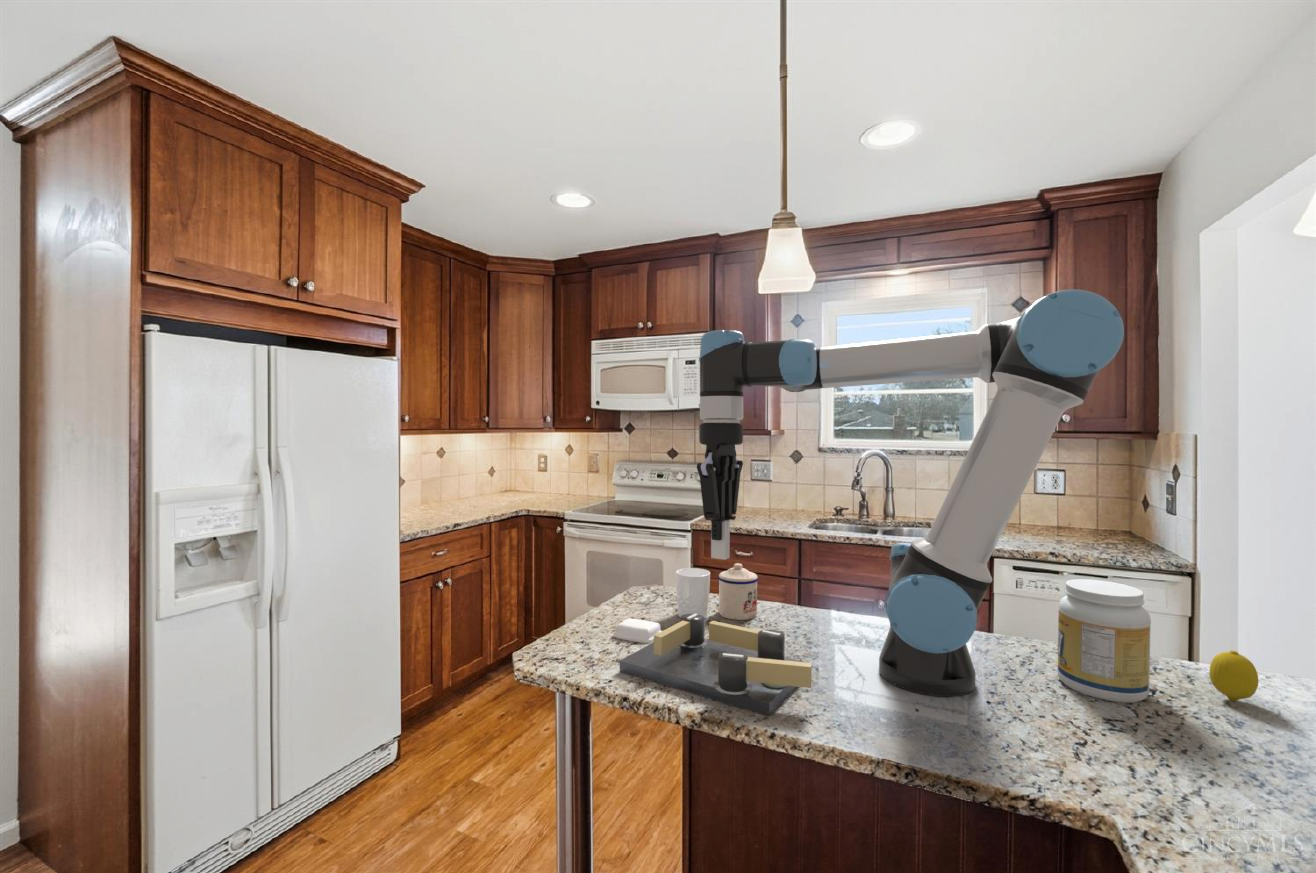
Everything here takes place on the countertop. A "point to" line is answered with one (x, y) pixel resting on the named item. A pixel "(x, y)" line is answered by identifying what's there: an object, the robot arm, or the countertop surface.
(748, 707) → the dark grey knob panel
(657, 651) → the knob
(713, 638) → the knob
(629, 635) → the soap
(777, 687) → the green domed button
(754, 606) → the teacup with lid
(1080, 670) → the supplement tub
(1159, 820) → the countertop surface
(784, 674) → the knob
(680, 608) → the white cup
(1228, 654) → the lemon
